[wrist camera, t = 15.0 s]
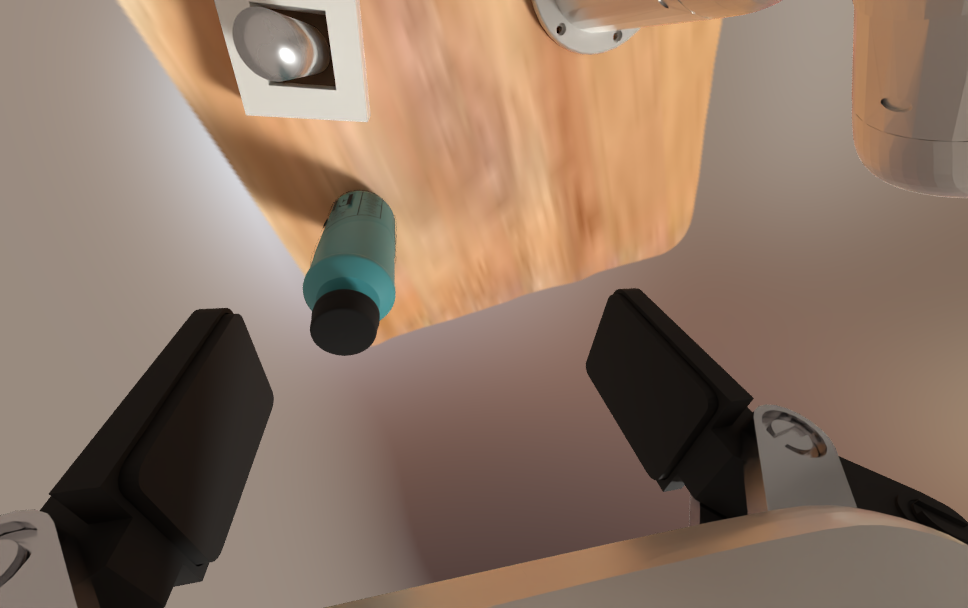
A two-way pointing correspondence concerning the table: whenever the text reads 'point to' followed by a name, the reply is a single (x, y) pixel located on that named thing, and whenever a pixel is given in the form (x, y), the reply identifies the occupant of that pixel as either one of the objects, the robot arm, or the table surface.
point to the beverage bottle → (352, 274)
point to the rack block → (307, 99)
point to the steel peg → (279, 45)
